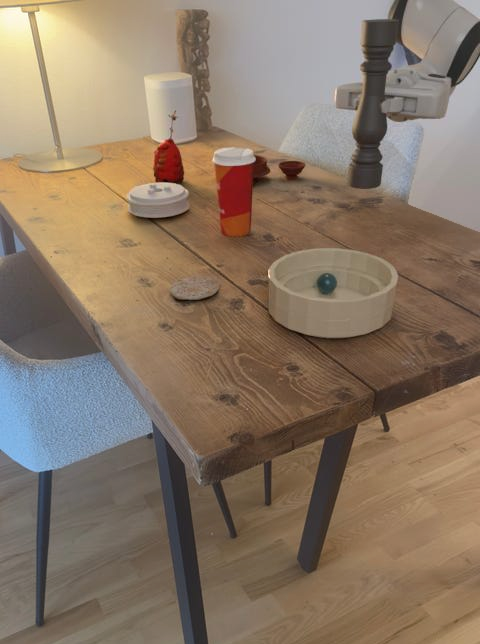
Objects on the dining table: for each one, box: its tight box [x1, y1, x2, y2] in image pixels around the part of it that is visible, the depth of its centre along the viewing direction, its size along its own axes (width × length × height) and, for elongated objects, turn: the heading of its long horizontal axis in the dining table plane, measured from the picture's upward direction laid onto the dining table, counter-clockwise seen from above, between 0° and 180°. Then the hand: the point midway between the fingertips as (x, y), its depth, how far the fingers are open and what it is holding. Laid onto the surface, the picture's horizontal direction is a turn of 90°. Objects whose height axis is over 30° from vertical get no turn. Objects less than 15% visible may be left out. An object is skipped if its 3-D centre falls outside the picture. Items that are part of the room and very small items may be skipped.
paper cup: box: [211, 146, 256, 237], centre depth 103 cm, size 8×8×14 cm
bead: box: [317, 273, 337, 294], centre depth 83 cm, size 3×3×3 cm
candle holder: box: [346, 18, 399, 190], centre depth 98 cm, size 6×6×25 cm
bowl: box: [267, 247, 399, 339], centre depth 80 cm, size 18×18×6 cm
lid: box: [125, 182, 191, 219], centre depth 115 cm, size 13×13×5 cm
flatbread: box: [169, 275, 220, 301], centre depth 87 cm, size 8×8×1 cm
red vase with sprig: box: [152, 110, 185, 184], centre depth 129 cm, size 8×7×15 cm
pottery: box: [253, 154, 306, 183], centre depth 132 cm, size 12×20×4 cm, turn 94°
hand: (368, 106), depth 97 cm, fingers closed on candle holder, 3 cm apart
